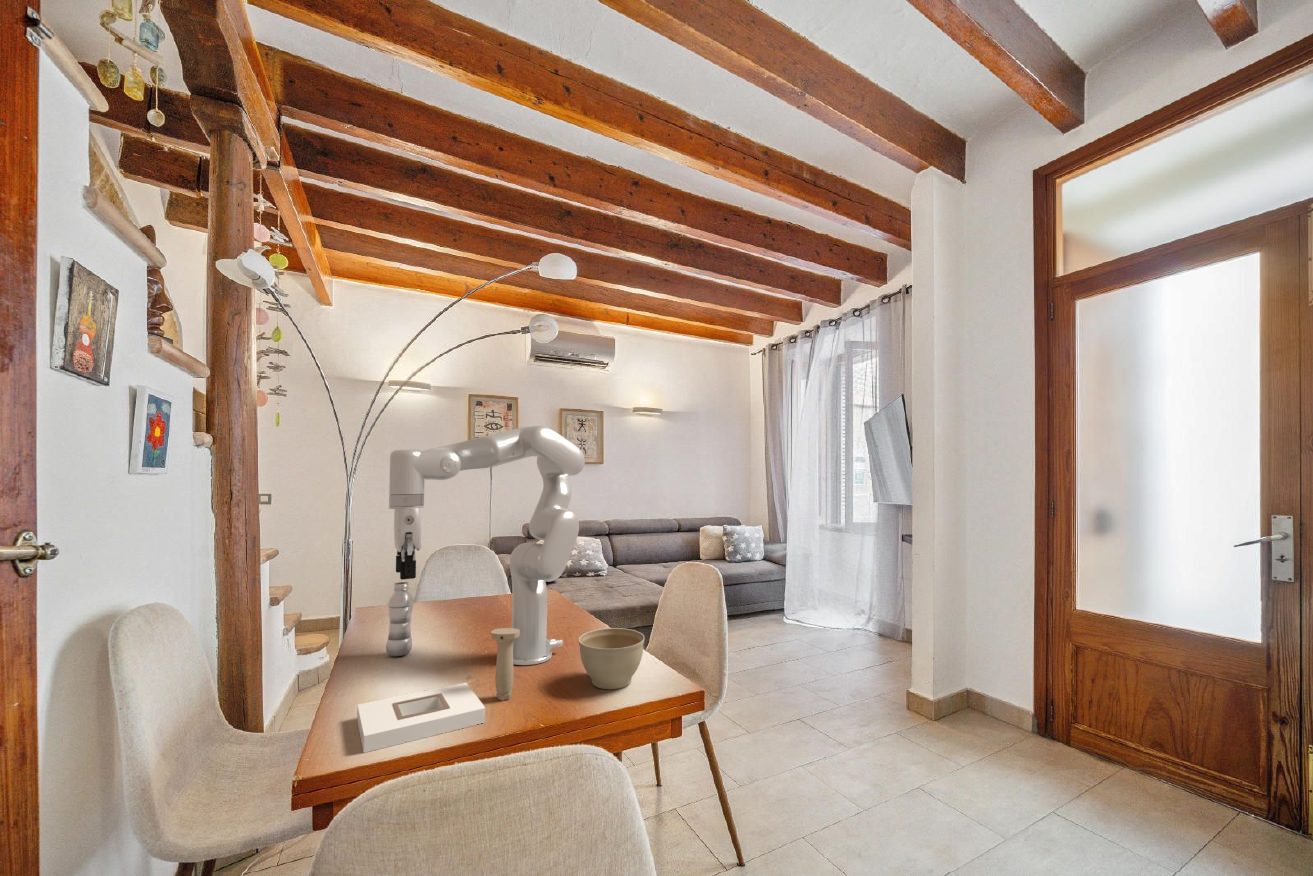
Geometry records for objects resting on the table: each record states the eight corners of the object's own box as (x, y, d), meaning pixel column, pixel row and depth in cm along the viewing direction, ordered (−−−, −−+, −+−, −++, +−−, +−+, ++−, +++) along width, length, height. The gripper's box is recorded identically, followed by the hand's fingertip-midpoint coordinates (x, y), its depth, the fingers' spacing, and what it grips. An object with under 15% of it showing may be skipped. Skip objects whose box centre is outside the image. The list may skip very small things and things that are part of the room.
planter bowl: (571, 675, 136) (572, 632, 137) (631, 667, 142) (631, 625, 143) (587, 700, 121) (588, 651, 122) (654, 690, 127) (654, 643, 128)
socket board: (465, 696, 124) (466, 681, 124) (485, 723, 110) (485, 707, 110) (356, 719, 112) (357, 703, 112) (363, 753, 98) (364, 735, 99)
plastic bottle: (391, 651, 154) (393, 581, 156) (415, 651, 155) (417, 580, 156) (381, 659, 148) (384, 585, 149) (407, 658, 148) (409, 585, 150)
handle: (514, 703, 120) (515, 634, 121) (486, 702, 120) (487, 634, 121) (521, 694, 125) (522, 628, 126) (494, 693, 125) (495, 627, 126)
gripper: (429, 503, 121) (428, 579, 120) (419, 499, 136) (417, 568, 135) (392, 504, 117) (391, 583, 117) (386, 500, 132) (384, 571, 131)
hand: (405, 575), depth 126 cm, fingers open, 9 cm apart
